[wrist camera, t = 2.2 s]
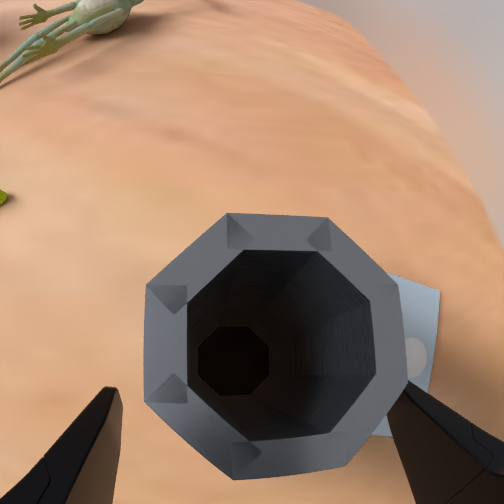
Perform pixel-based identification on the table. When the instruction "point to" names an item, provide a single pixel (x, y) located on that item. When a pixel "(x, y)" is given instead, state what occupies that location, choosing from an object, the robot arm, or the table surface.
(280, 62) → the table surface
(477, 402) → the table surface
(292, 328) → the sleeve
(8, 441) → the table surface
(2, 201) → the toy
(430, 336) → the pedestal
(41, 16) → the toy
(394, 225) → the table surface
